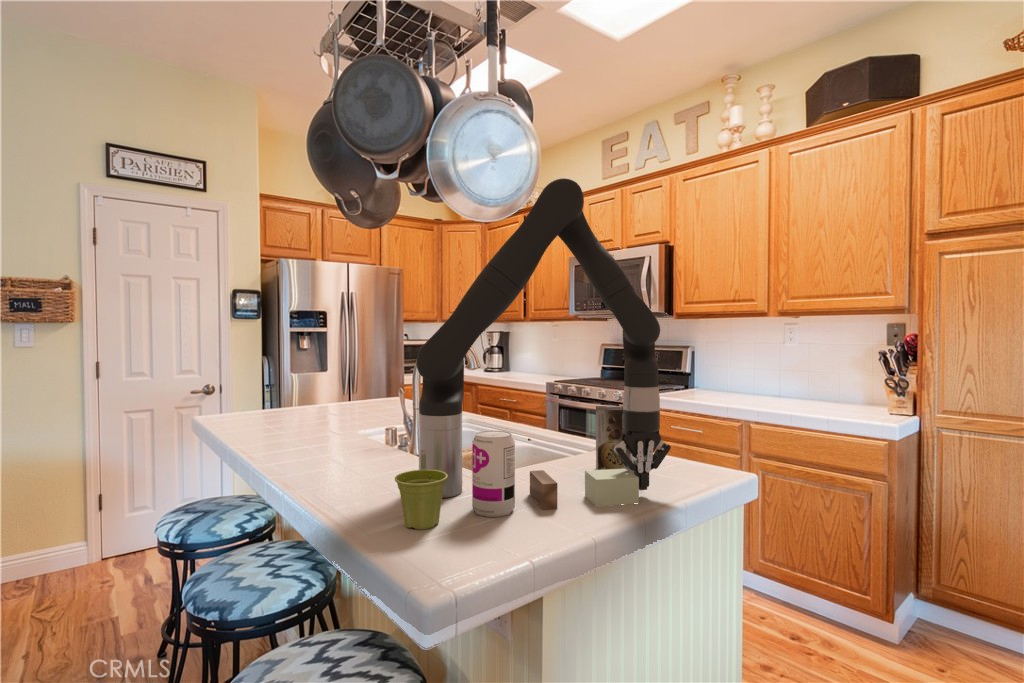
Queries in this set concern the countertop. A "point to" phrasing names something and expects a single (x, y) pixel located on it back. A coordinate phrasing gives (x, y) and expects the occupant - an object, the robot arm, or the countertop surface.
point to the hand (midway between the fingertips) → (641, 489)
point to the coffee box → (609, 437)
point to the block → (611, 487)
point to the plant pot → (421, 497)
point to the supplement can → (493, 473)
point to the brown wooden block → (543, 489)
